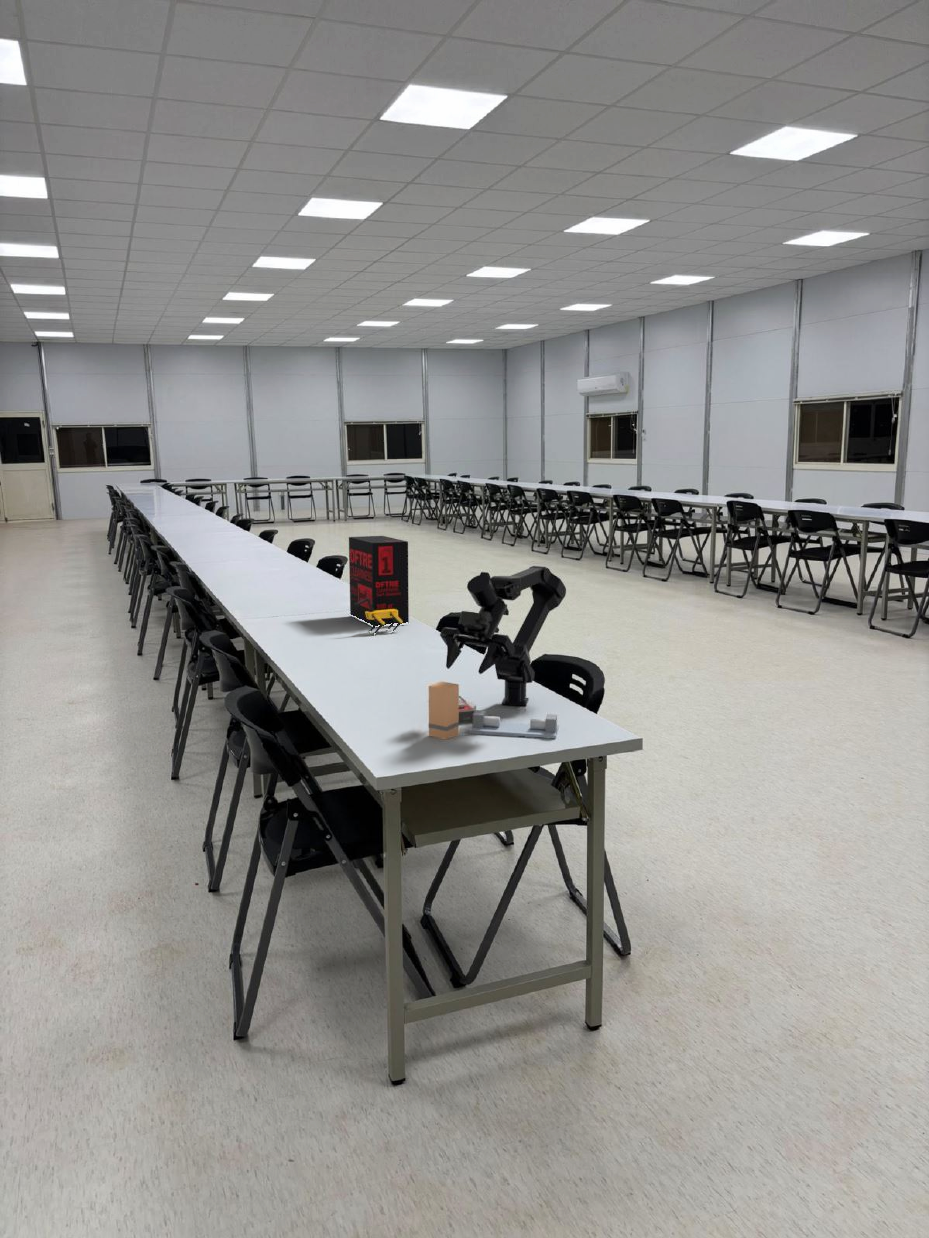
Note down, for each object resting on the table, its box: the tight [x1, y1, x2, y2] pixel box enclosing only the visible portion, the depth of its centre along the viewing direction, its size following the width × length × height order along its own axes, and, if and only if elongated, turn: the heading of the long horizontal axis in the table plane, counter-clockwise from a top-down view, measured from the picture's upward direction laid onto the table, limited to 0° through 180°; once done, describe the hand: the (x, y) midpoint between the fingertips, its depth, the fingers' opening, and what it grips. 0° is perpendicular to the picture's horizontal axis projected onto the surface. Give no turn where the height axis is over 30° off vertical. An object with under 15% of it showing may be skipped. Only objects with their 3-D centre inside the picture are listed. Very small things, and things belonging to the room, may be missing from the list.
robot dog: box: [354, 598, 403, 634], centre depth 321 cm, size 6×18×13 cm, turn 120°
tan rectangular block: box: [428, 681, 460, 740], centre depth 206 cm, size 5×5×12 cm
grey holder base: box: [469, 709, 559, 739], centre depth 209 cm, size 8×20×4 cm, turn 79°
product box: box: [348, 535, 410, 626], centre depth 344 cm, size 26×14×32 cm, turn 27°
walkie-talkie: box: [459, 695, 477, 724], centre depth 225 cm, size 9×4×20 cm
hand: (463, 670), depth 210 cm, fingers open, 9 cm apart
